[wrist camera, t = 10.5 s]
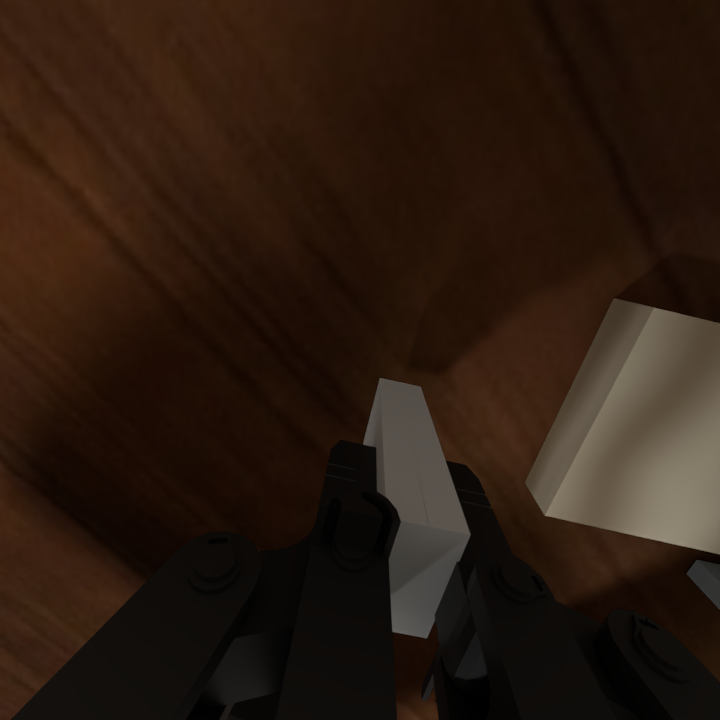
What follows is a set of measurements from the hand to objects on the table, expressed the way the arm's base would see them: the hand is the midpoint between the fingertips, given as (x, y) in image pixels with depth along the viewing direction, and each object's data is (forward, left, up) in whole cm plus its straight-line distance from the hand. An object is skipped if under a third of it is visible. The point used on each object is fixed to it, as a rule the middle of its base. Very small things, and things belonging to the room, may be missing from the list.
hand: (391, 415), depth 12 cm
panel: (+15, +1, -3) cm, 16 cm away
